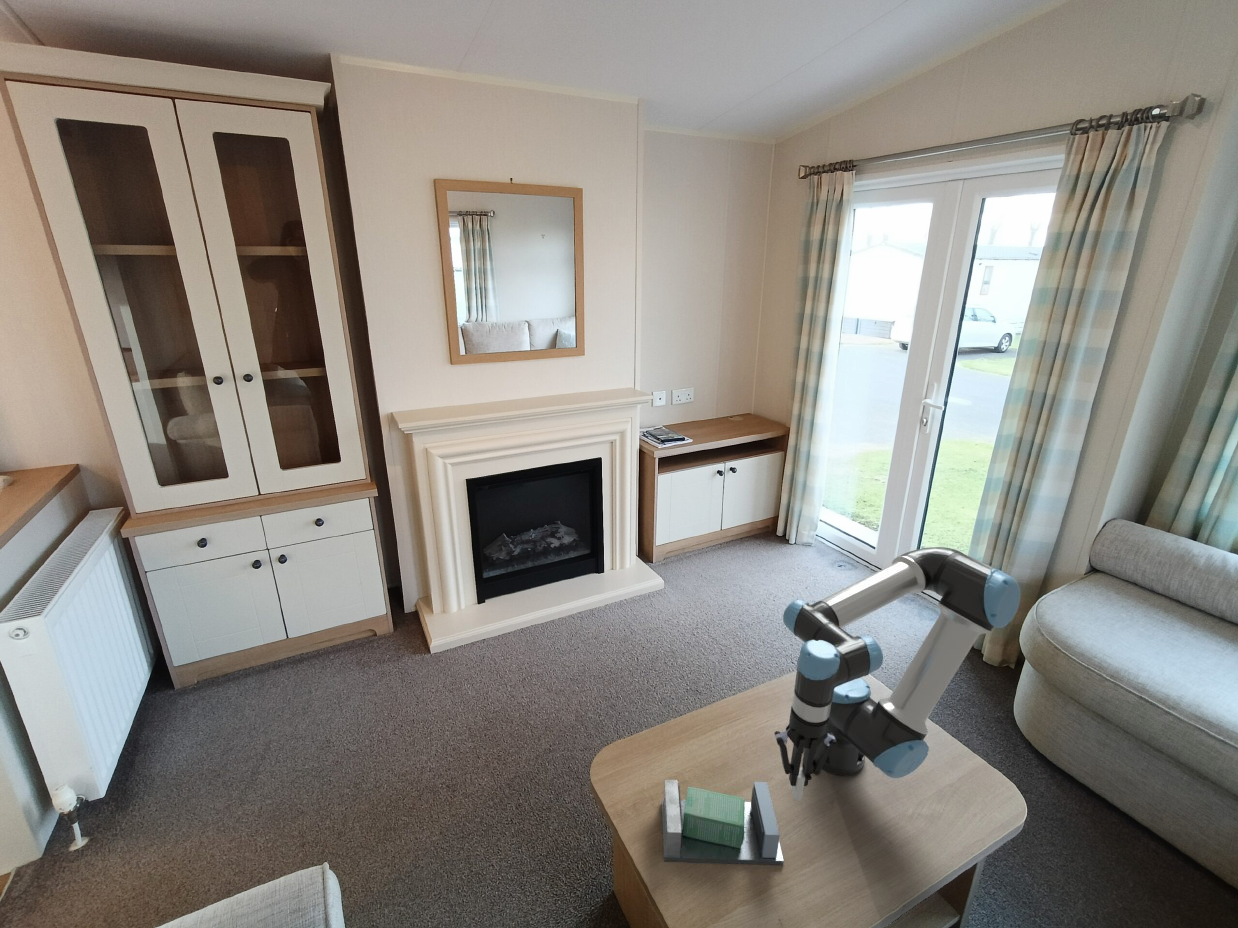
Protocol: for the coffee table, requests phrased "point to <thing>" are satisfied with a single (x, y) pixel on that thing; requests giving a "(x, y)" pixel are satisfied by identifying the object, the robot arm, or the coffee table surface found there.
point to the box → (714, 817)
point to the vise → (704, 851)
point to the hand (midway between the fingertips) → (796, 794)
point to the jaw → (765, 820)
